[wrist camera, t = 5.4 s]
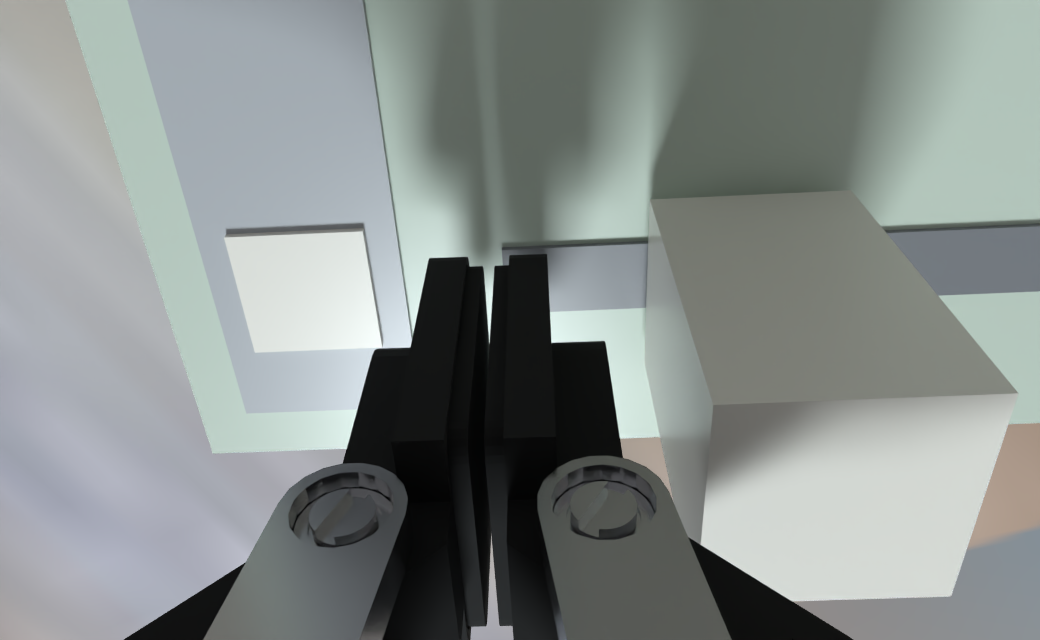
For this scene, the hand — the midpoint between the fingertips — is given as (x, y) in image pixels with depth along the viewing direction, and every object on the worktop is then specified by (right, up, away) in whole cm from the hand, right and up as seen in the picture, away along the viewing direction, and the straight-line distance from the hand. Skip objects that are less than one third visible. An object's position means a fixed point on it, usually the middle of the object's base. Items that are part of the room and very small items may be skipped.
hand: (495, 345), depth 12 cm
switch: (+4, +1, +1) cm, 4 cm away
